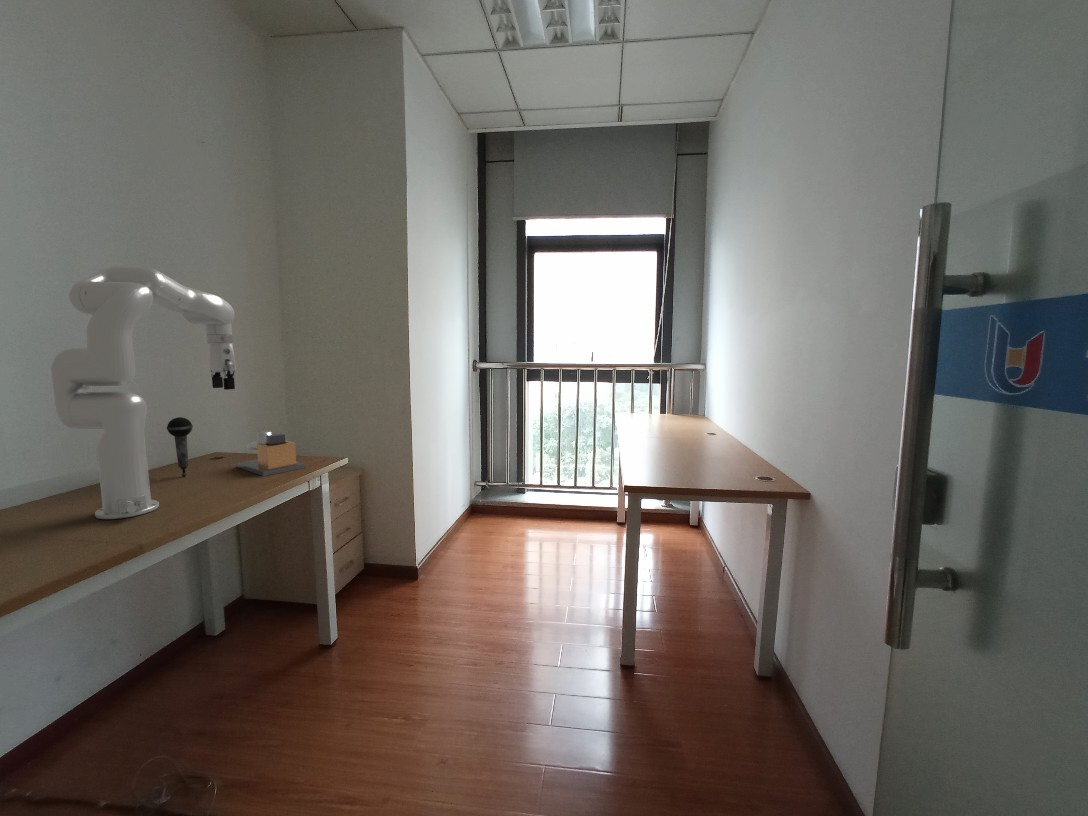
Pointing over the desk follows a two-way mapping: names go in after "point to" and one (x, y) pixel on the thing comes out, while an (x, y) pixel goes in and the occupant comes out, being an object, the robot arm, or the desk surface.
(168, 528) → the desk surface
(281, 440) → the grey rectangular block
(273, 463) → the orange slotted box
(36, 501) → the desk surface
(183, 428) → the microphone
